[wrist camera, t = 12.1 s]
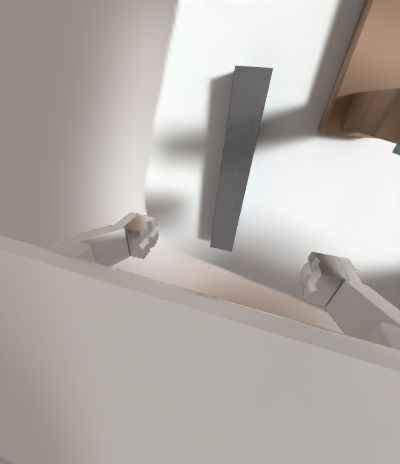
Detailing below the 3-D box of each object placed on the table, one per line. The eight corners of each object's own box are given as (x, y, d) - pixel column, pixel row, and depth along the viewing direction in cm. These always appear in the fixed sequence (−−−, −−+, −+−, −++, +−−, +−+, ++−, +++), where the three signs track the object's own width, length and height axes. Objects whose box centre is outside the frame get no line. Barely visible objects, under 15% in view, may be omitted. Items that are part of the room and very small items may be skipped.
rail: (233, 239, 24) (231, 251, 22) (214, 234, 24) (210, 246, 22) (271, 73, 15) (272, 68, 13) (238, 70, 15) (235, 65, 13)
